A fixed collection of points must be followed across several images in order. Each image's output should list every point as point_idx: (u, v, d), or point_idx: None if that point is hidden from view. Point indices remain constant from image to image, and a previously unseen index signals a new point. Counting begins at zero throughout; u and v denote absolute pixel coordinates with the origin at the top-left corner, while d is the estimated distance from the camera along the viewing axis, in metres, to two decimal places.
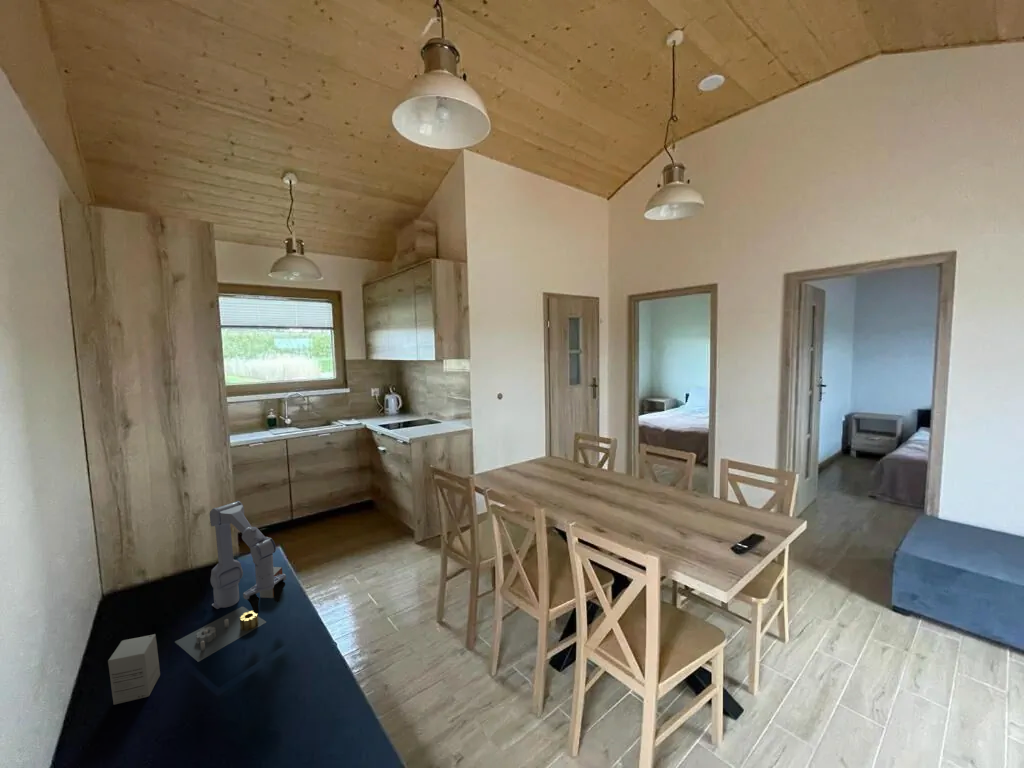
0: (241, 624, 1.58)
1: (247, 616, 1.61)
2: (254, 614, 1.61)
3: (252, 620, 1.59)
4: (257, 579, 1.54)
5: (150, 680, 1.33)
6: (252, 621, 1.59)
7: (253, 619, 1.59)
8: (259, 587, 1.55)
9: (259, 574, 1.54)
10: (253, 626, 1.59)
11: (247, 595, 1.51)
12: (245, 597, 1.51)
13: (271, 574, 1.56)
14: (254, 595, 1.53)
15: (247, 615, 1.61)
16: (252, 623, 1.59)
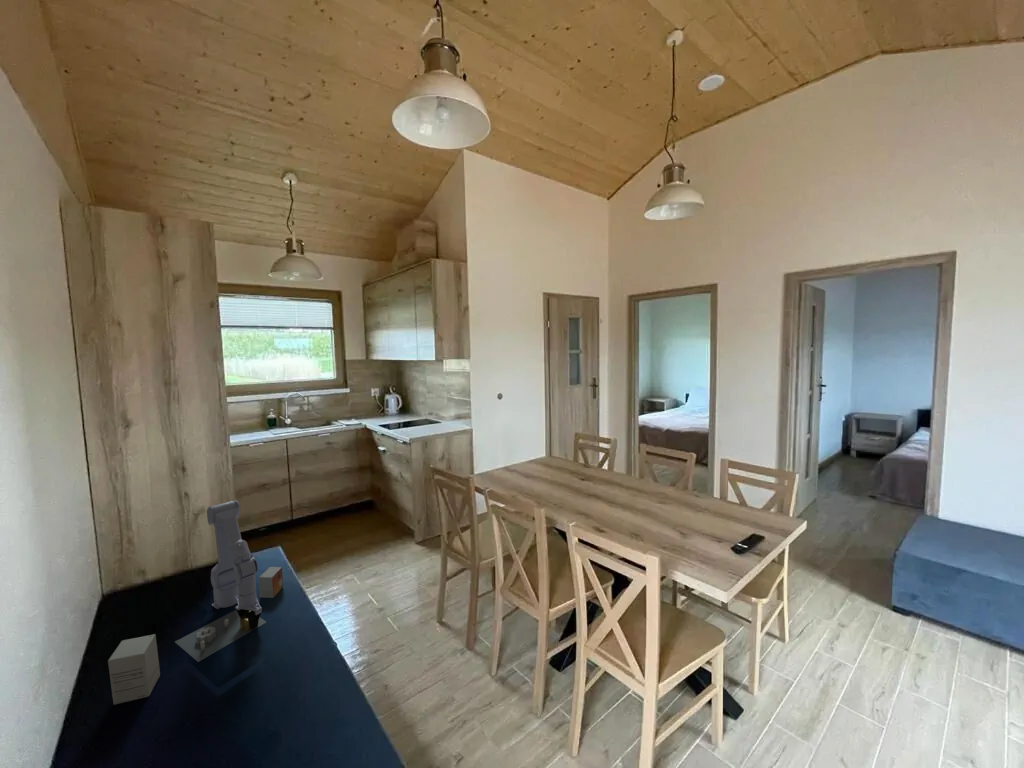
0: (241, 624, 1.58)
1: None
2: None
3: None
4: None
5: (150, 680, 1.33)
6: None
7: None
8: None
9: (240, 593, 1.56)
10: None
11: (235, 598, 1.62)
12: None
13: (241, 596, 1.56)
14: None
15: None
16: None
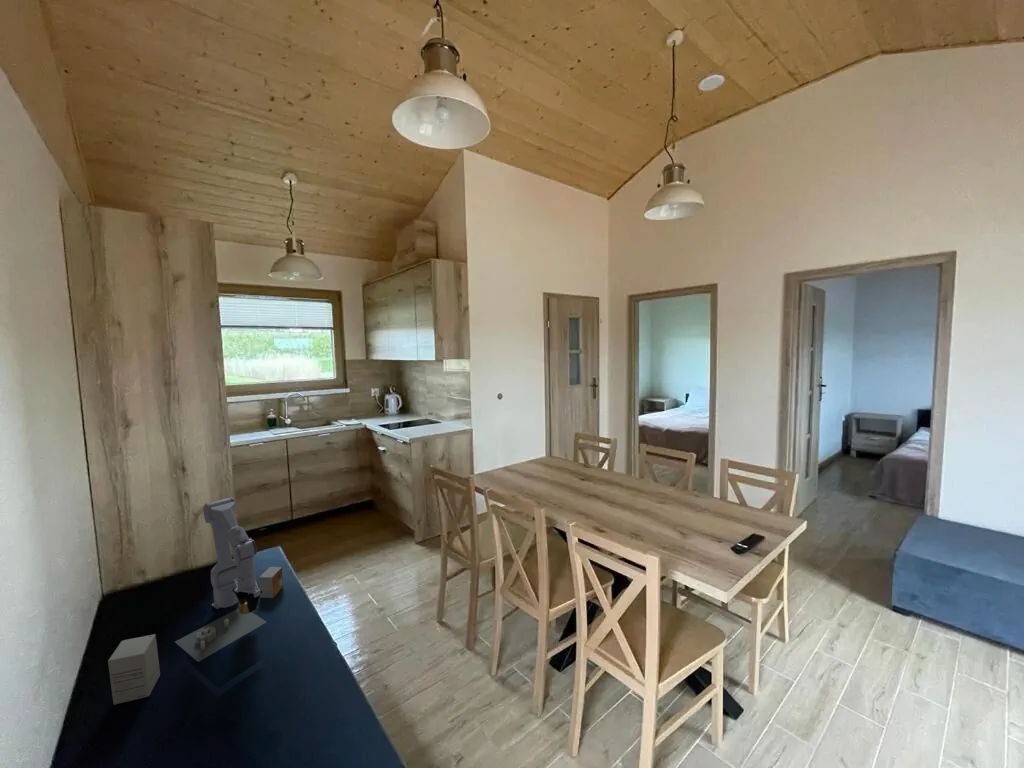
0: (240, 608, 1.57)
1: None
2: None
3: None
4: None
5: (150, 680, 1.33)
6: None
7: None
8: None
9: (239, 575, 1.55)
10: None
11: (234, 581, 1.61)
12: None
13: (240, 579, 1.55)
14: None
15: None
16: None
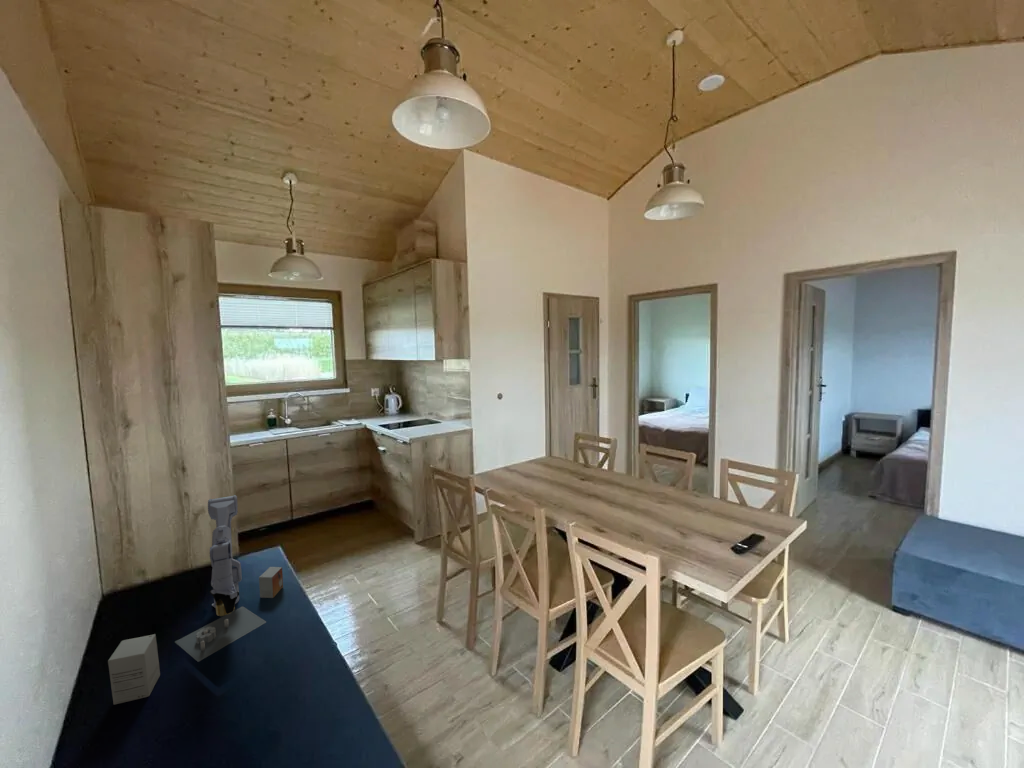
0: (216, 609, 1.56)
1: None
2: None
3: None
4: None
5: (150, 680, 1.33)
6: None
7: None
8: None
9: (214, 576, 1.54)
10: None
11: (211, 582, 1.60)
12: None
13: (216, 580, 1.54)
14: None
15: None
16: None
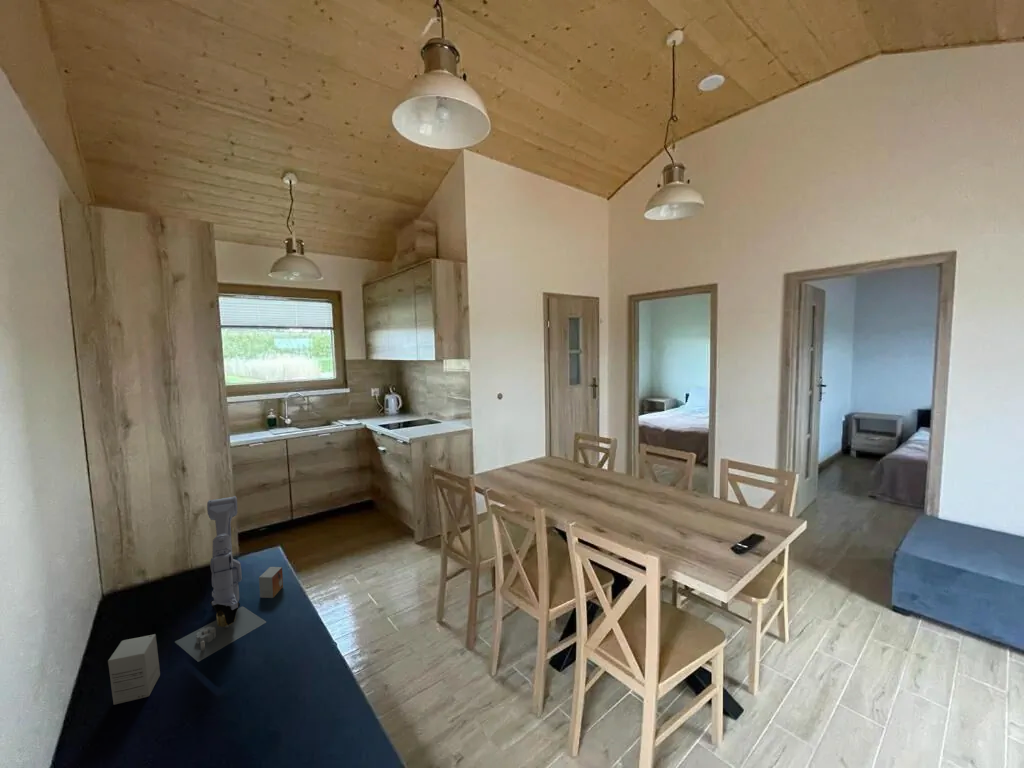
0: (217, 620, 1.57)
1: None
2: None
3: None
4: None
5: (150, 680, 1.33)
6: None
7: None
8: None
9: (214, 587, 1.55)
10: None
11: (212, 593, 1.61)
12: None
13: (217, 591, 1.55)
14: None
15: None
16: None
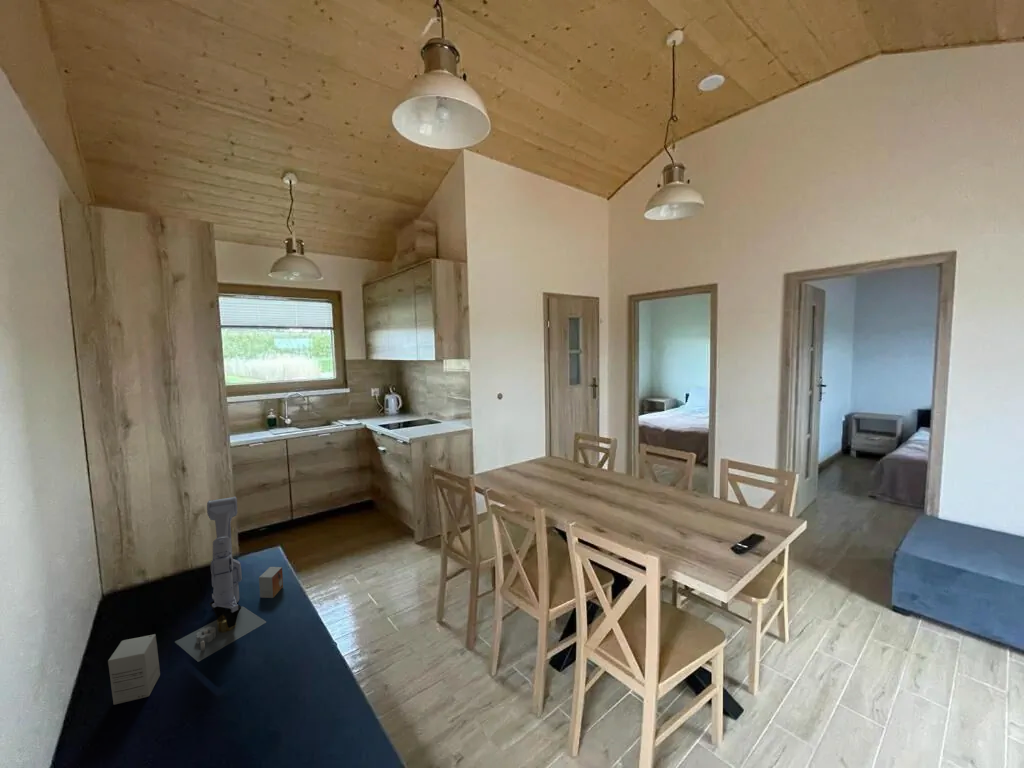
0: (218, 626, 1.57)
1: (224, 618, 1.60)
2: None
3: None
4: None
5: (150, 680, 1.33)
6: None
7: None
8: None
9: (215, 589, 1.55)
10: (230, 628, 1.58)
11: (212, 595, 1.61)
12: None
13: (217, 593, 1.55)
14: None
15: (224, 617, 1.60)
16: None
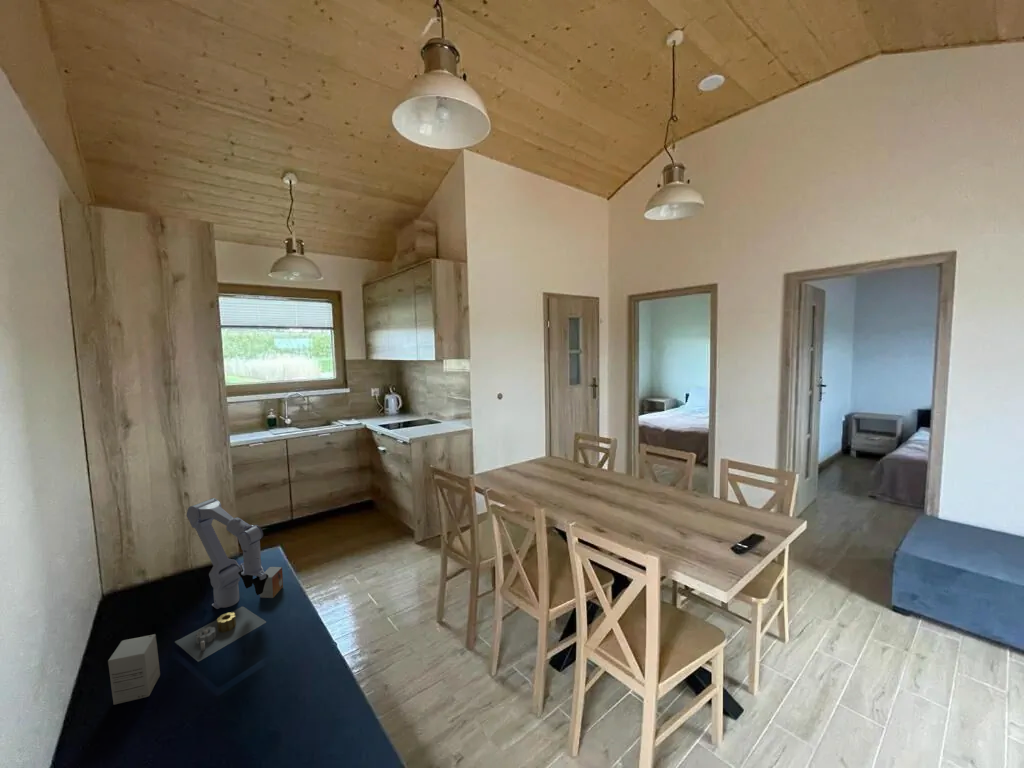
0: (218, 626, 1.57)
1: (224, 618, 1.60)
2: (231, 616, 1.60)
3: (229, 622, 1.58)
4: None
5: (150, 680, 1.33)
6: (229, 623, 1.58)
7: (230, 621, 1.58)
8: None
9: (248, 559, 1.63)
10: (230, 628, 1.58)
11: (240, 565, 1.70)
12: None
13: (246, 562, 1.64)
14: None
15: (224, 617, 1.60)
16: (229, 625, 1.58)
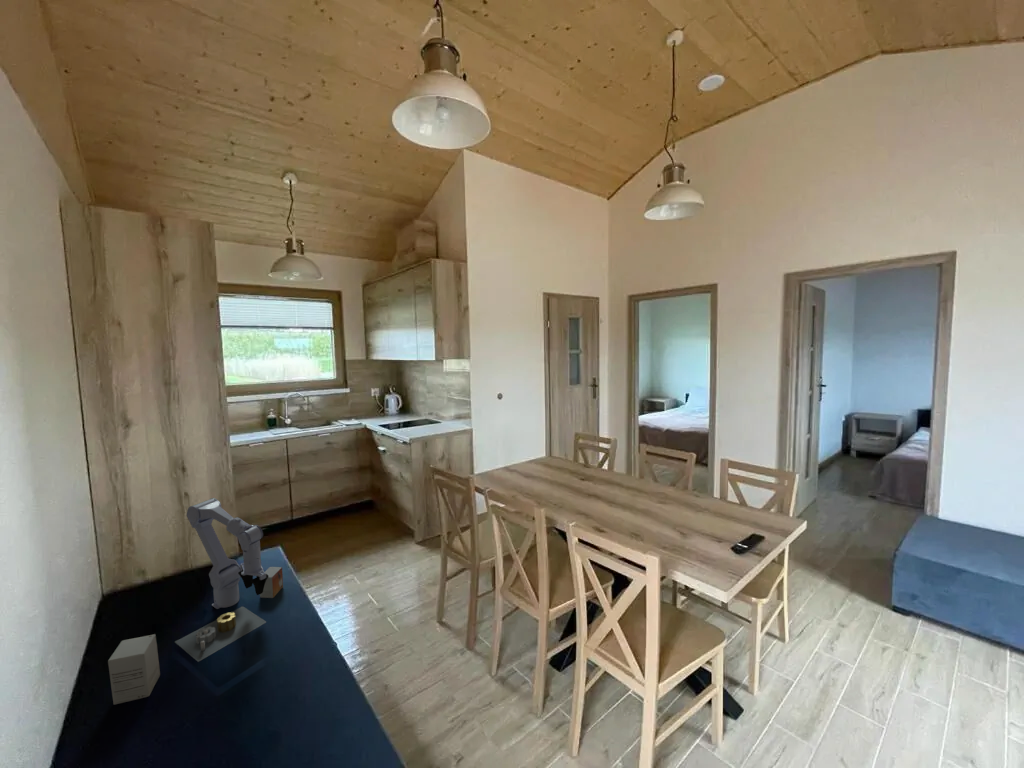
0: (218, 626, 1.57)
1: (224, 618, 1.60)
2: (231, 616, 1.60)
3: (229, 622, 1.58)
4: None
5: (150, 680, 1.33)
6: (229, 623, 1.58)
7: (230, 621, 1.58)
8: None
9: (248, 559, 1.63)
10: (230, 628, 1.58)
11: (240, 565, 1.70)
12: None
13: (246, 562, 1.64)
14: None
15: (224, 617, 1.60)
16: (229, 625, 1.58)
